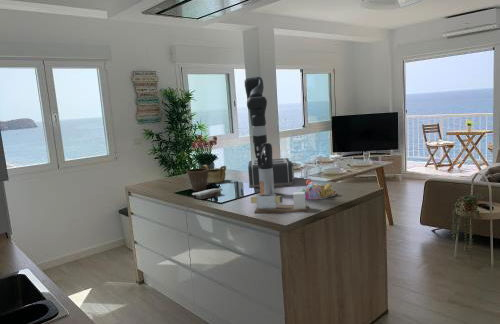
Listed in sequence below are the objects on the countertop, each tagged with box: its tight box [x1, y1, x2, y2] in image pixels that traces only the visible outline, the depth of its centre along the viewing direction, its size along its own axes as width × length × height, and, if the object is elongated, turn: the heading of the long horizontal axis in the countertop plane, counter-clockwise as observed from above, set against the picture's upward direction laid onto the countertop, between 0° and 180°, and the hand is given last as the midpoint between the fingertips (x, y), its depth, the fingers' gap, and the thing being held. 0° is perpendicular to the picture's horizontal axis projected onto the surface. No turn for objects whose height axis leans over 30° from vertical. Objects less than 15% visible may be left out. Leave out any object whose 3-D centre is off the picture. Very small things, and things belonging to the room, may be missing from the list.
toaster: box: [247, 157, 298, 189], centre depth 294 cm, size 30×36×17 cm
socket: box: [292, 191, 307, 209], centre depth 215 cm, size 6×6×8 cm
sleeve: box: [256, 193, 278, 210], centre depth 218 cm, size 5×10×7 cm, turn 80°
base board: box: [254, 204, 309, 214], centre depth 217 cm, size 12×28×1 cm, turn 80°
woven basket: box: [201, 164, 227, 184], centre depth 312 cm, size 22×17×15 cm
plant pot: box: [186, 167, 208, 192], centre depth 285 cm, size 15×15×16 cm
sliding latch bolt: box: [250, 181, 283, 204], centre depth 217 cm, size 3×17×12 cm, turn 80°
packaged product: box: [191, 188, 223, 200], centre depth 263 cm, size 18×5×10 cm
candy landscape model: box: [298, 179, 337, 200], centre depth 246 cm, size 25×24×9 cm
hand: (261, 164), depth 215 cm, fingers open, 8 cm apart
